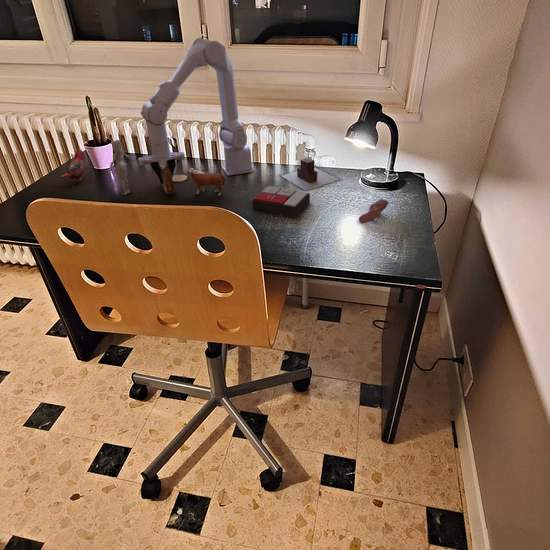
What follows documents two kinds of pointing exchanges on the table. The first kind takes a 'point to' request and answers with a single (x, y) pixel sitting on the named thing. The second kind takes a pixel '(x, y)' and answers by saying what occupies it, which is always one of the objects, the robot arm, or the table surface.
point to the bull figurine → (206, 180)
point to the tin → (166, 179)
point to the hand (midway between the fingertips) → (166, 182)
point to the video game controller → (374, 211)
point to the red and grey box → (281, 201)
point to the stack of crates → (309, 175)
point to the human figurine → (120, 164)
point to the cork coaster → (179, 178)
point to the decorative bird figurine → (76, 167)
